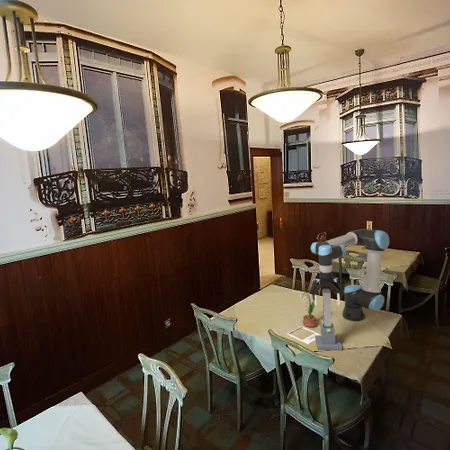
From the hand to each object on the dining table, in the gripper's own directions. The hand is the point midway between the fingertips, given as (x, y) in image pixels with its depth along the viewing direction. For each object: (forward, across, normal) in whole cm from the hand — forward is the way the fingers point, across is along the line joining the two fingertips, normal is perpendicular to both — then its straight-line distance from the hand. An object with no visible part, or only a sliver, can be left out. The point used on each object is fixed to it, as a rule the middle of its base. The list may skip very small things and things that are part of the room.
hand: (327, 304), depth 195 cm
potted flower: (+26, +9, -25) cm, 37 cm away
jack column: (+16, 0, 0) cm, 16 cm away
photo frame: (+27, +13, -11) cm, 32 cm away
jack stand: (+26, 0, 0) cm, 26 cm away
